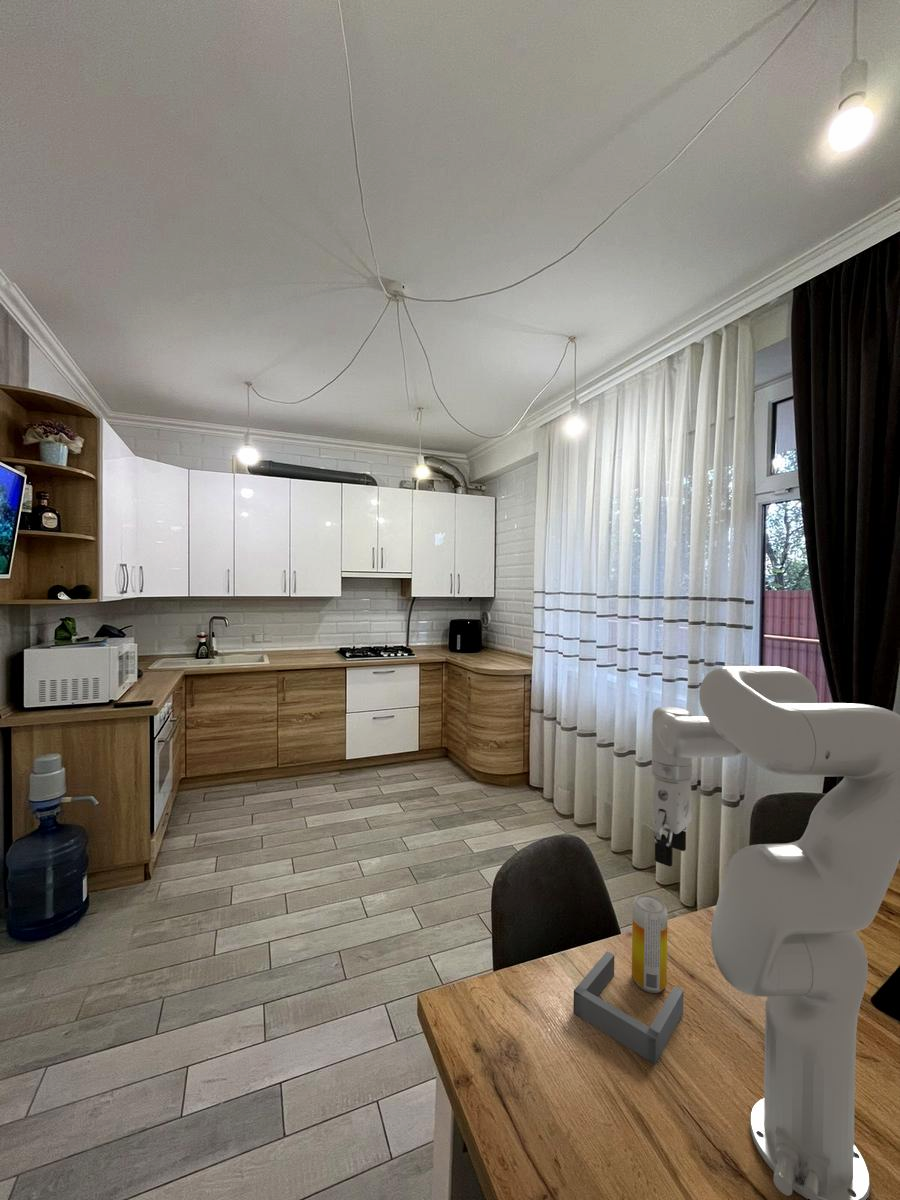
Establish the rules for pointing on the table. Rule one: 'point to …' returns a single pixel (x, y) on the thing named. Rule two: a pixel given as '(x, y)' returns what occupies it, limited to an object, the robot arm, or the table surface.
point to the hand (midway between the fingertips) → (670, 855)
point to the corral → (619, 1023)
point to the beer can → (649, 943)
